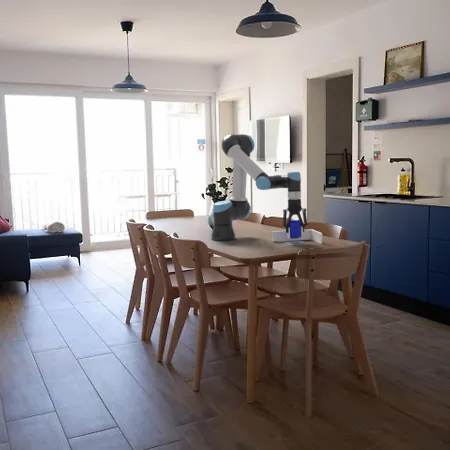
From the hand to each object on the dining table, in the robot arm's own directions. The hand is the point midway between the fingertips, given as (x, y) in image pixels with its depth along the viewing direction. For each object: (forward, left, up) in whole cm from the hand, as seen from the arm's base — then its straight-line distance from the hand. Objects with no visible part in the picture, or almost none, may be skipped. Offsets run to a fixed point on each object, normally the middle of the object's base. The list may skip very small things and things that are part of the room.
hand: (295, 238), depth 307 cm
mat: (0, 0, -3) cm, 3 cm away
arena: (+1, +2, -3) cm, 4 cm away
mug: (-1, 0, 0) cm, 1 cm away
